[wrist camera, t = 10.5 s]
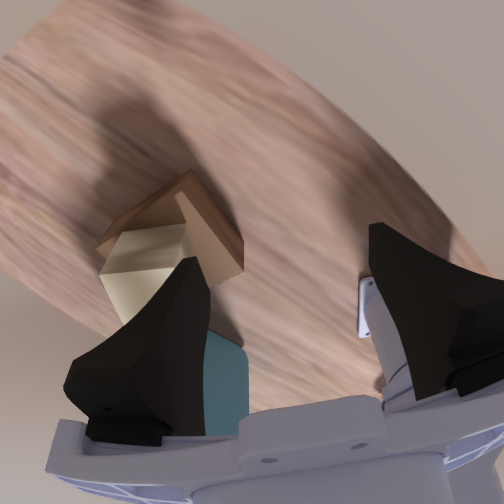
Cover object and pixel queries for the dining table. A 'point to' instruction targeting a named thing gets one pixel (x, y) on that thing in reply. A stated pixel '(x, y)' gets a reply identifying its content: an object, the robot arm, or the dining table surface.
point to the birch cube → (143, 265)
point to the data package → (224, 386)
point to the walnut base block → (198, 221)
